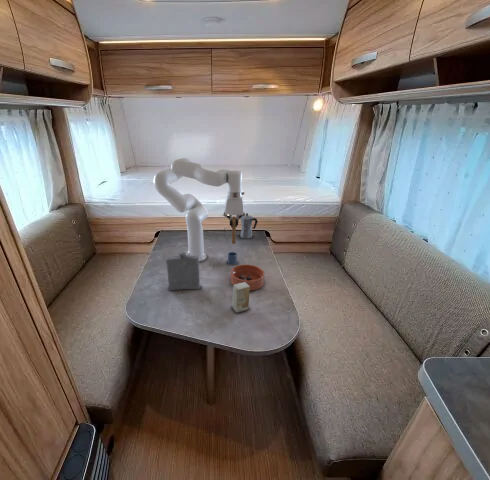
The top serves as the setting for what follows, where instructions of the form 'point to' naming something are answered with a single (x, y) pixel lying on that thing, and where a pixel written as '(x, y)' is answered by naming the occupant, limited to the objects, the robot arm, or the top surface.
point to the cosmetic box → (241, 296)
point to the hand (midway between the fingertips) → (233, 226)
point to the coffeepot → (247, 226)
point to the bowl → (248, 270)
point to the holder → (232, 258)
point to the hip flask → (183, 272)
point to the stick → (233, 229)
